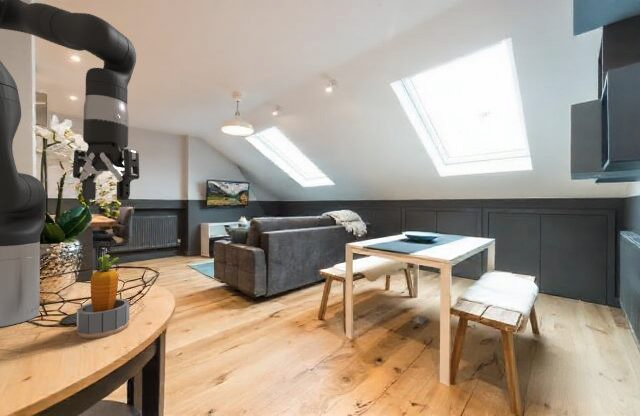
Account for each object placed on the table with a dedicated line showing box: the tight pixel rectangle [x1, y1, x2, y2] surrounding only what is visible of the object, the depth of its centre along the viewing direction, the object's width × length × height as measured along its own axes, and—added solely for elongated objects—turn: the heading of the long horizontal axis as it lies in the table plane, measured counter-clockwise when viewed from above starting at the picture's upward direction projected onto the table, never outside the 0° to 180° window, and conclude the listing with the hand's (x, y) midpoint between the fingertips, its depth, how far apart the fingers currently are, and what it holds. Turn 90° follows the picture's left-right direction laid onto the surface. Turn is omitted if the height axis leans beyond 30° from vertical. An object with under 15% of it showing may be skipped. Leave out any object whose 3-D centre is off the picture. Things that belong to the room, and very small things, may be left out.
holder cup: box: [76, 298, 131, 340], centre depth 59 cm, size 9×9×5 cm
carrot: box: [90, 254, 120, 312], centre depth 59 cm, size 5×5×15 cm
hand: (105, 199), depth 59 cm, fingers open, 8 cm apart
